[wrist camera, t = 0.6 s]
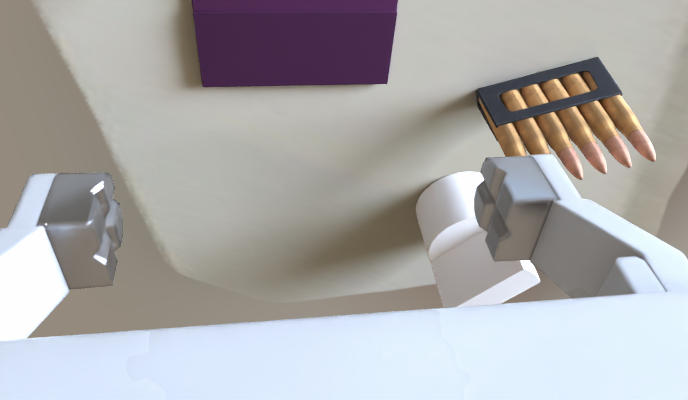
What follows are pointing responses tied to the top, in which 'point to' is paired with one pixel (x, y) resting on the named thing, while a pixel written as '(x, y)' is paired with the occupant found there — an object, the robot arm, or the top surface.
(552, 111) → the ammunition clip
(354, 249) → the top surface
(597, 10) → the top surface
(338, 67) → the napkin
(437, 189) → the cylinder with rectangular tab
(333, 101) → the top surface
